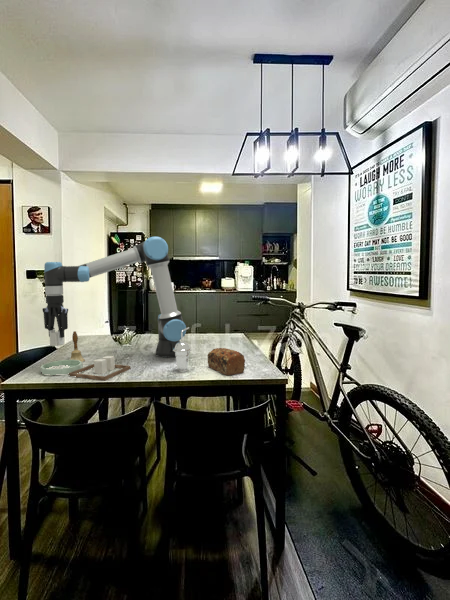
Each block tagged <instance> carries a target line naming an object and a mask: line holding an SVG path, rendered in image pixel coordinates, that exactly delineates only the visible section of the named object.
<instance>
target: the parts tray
mask: <svg viewBox="0 0 450 600" xmlns="http://www.w3.org/2000/svg"><path fill="white" fill-rule="evenodd" d="M93 367H94V363H93V364H90V365H87V366H84V367H83V368H82V369H79V370H76V371H73V372H71V373H69V375H70V376H76V377H75V378H78V377H82V378H81V379H86V378H88V379H89V380H95V379H96V380H95V381H107V380H110V379H111V378H114V377H116V376H119V375H121V374H122V373H125V372H127V371H129V369H130V370H131V365H126V364H116V363H115V369H119V370H117V371H114V372H111V373H110V374H107V375H105V376H102V375H96V374H95V375H94V374H86V373H85V374H84V373H83V372H82V371H84V372H86V371H89V370H92V369H94V368H93ZM91 368H92V369H91ZM121 368H123V369H121ZM88 369H89V370H88ZM85 370H86V371H85ZM79 372H81V373H79ZM77 373H78V374H77ZM82 373H83V374H82ZM120 373H121V374H120ZM69 375H68V376H69ZM109 378H110V379H109Z"/></svg>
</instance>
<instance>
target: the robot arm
mask: <svg viewBox="0 0 450 600" xmlns="http://www.w3.org/2000/svg"><path fill="white" fill-rule="evenodd" d="M136 263H139V264H142V263H146V266H147V267H148V268H149V269H150V271H151V276H152V280H153V284H154V288H155V293H156V298H157V302H158V306H159V309H160V314H158V316H157V325H158V327H157V328H158V330H157V331H158V342H157V346H156V348H155V356H157V357H161V358H174V357H175V358H176V356H175V352H174V351H173V348H175V345H176V344H177V343H178V342H181V331H182V330H184V329H186V328H187V325H186V323H185V322H184V319H183V315H182V312H181V311H179V310H178V305H177V301H176V297H175V292H174V289H173V283H172V279H171V274H170V271H169V266H168V265H169V263H170V257H169V245H168V243H167V242H166V240H165V239H164V238H163V237H160V236H149V237H148V238H147V239H146V240H145V241H143V242H141V243H139V244H136V245H134V246H133V248H130V249H127V250H124V251H120V252H118V253H115V254H111V255H108V256H105V257H102V258H98V259H95V260H93V261H89V262H87V263H84V264H80V265H68V266H67V265H63V264H62V262H61V261H46V262H45V263H44V265H43V266H44V272H43V275H44V286H45V287H44V288H45V290H44V291H45V303H46V304H47V306H46V307H44V308H42V313H43V323H44V329H46V330H48V337H49V338H50V333H51V332H58V345H59V346H62V345H61V344H63V345H64V341H65V340H64V338H65V331H66V330H67V329H68V326H69V325H68V321H69V319H68V312H69V308H66V307H64V305H63V303H64V301H65V299H64V295H63V294H64V283H85V282H87V283H88V282H89V281H90V278H93V277H96V276H100V275H102V274H105V273H109V272H111V271H114V270H119V269H120V268H124V267H127V266H130V265H132V264H136ZM55 319H56V322H57V328H58V330H57V331H56V330H55V328H56V327H55ZM186 332H187V330H185V331H183V338H184V337H185V336H186Z"/></svg>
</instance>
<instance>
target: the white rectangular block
mask: <svg viewBox="0 0 450 600" xmlns="http://www.w3.org/2000/svg"><path fill="white" fill-rule="evenodd" d="M62 345H64V344H61V345H58V332H57V331H55V332H51V333H50V337H49V346H52V347H57V346H62Z"/></svg>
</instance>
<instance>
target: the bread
mask: <svg viewBox="0 0 450 600" xmlns="http://www.w3.org/2000/svg"><path fill="white" fill-rule="evenodd" d="M245 363H246V359H245V355H244V354H242V353H241V352H240V351H238V350H235V349H230V348H226V347H218V348H217V347H216V348H213V349H212V350H211V351H209V352H208V353H207V364H208V365H207V366H208V368H211V369H212V370H214V371H216V372H217V371H218V373H219V374H222V375H225V376H234V375H239V374H243V373H244V372H245V368H246V367H245V366H246V364H245Z"/></svg>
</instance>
